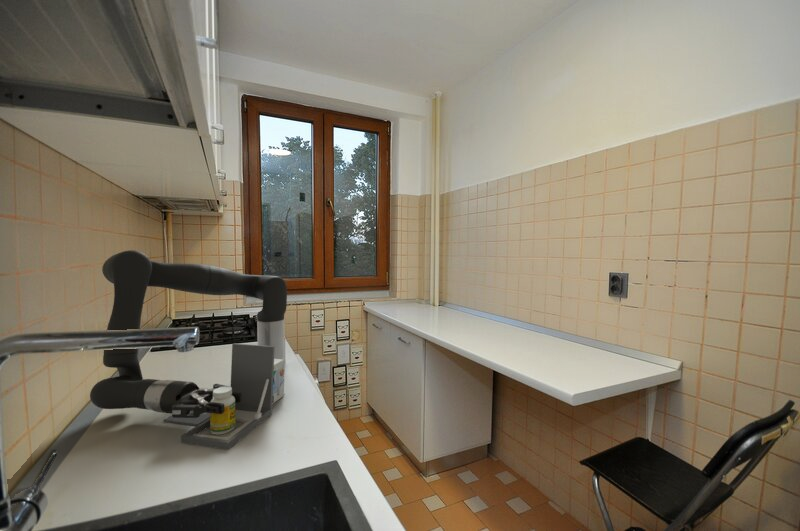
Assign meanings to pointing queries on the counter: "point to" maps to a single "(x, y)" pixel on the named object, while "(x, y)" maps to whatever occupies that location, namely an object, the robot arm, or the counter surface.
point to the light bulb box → (278, 380)
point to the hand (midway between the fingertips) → (232, 403)
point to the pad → (188, 419)
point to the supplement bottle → (226, 419)
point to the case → (243, 395)
